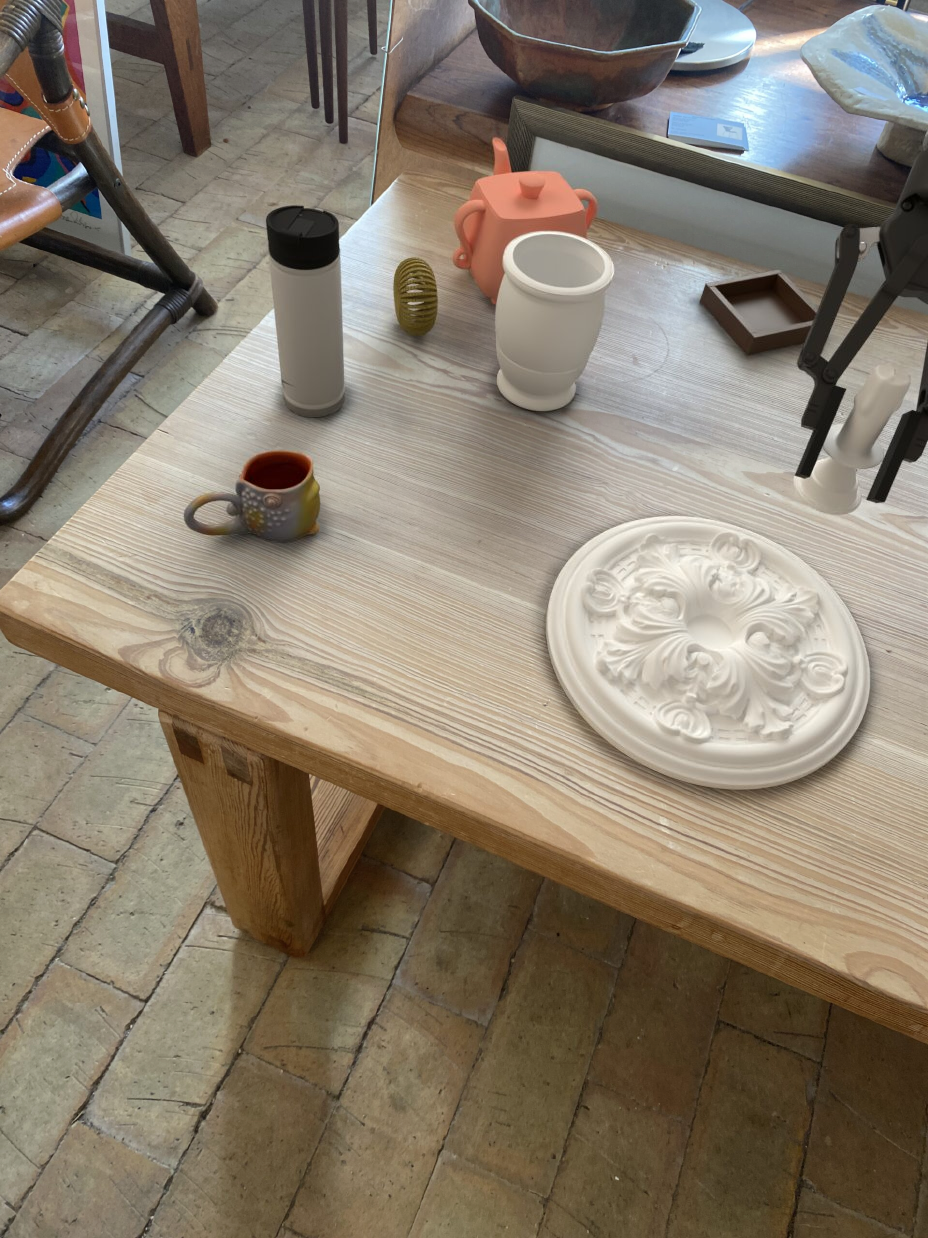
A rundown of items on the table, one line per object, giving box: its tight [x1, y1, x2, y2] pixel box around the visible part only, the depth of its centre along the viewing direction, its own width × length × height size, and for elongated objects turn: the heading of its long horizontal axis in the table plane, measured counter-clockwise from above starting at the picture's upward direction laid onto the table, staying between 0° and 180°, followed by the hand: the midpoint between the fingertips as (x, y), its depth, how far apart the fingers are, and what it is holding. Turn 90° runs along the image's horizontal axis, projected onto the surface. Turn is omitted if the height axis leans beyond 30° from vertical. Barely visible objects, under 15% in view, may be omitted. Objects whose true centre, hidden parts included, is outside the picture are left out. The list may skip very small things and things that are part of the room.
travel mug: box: [265, 204, 346, 418], centre depth 85 cm, size 6×7×20 cm
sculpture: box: [392, 256, 439, 337], centre depth 98 cm, size 8×4×8 cm, turn 13°
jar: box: [494, 231, 615, 412], centre depth 91 cm, size 11×10×15 cm
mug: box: [183, 449, 321, 543], centre depth 80 cm, size 12×7×7 cm, turn 113°
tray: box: [699, 269, 819, 357], centre depth 107 cm, size 11×11×2 cm
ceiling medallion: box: [545, 515, 871, 791], centre depth 78 cm, size 28×28×3 cm
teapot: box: [452, 137, 599, 306], centre depth 103 cm, size 15×17×13 cm
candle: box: [792, 362, 912, 516], centre depth 66 cm, size 5×5×12 cm
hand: (838, 487), depth 66 cm, fingers closed on candle, 5 cm apart
